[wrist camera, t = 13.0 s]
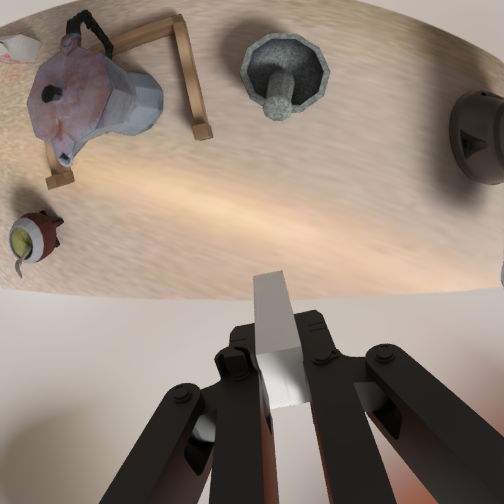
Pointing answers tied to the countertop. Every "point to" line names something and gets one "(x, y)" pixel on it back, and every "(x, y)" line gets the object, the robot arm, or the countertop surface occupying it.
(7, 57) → the white paper packet
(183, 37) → the bay
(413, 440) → the robot arm
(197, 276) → the countertop surface
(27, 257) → the mate gourd
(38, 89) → the moka pot
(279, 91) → the mortar and pestle
